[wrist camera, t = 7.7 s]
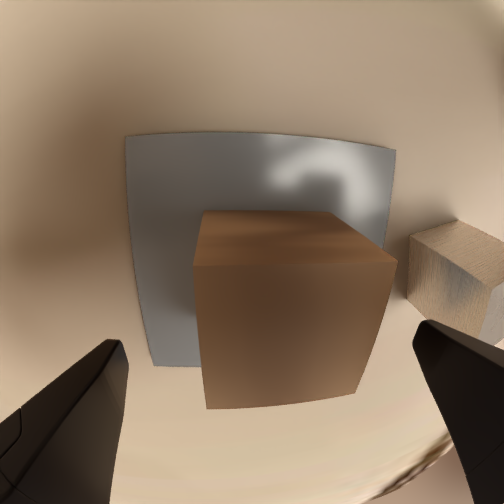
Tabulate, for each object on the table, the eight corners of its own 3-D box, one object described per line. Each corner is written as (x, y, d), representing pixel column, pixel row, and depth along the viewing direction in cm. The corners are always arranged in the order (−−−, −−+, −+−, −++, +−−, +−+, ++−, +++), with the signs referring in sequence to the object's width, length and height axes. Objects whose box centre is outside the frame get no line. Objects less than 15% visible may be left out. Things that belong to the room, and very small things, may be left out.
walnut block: (329, 212, 11) (398, 261, 6) (315, 315, 13) (354, 393, 8) (204, 210, 10) (193, 265, 6) (207, 320, 12) (206, 409, 8)
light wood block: (458, 219, 13) (534, 260, 7) (453, 279, 14) (514, 328, 9) (409, 234, 13) (491, 289, 7) (406, 299, 14) (468, 363, 9)
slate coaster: (388, 149, 11) (396, 150, 10) (350, 348, 15) (354, 354, 14) (130, 136, 10) (125, 136, 9) (155, 358, 14) (153, 365, 13)
